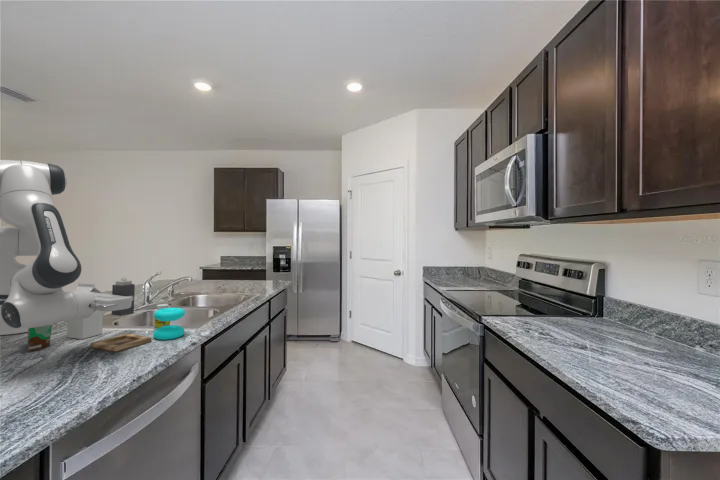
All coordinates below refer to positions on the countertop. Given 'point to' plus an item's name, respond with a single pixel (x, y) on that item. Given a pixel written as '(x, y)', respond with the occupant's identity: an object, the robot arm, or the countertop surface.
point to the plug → (124, 294)
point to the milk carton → (86, 320)
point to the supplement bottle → (161, 323)
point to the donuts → (169, 330)
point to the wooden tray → (120, 342)
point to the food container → (39, 338)
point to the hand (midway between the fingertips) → (126, 297)
